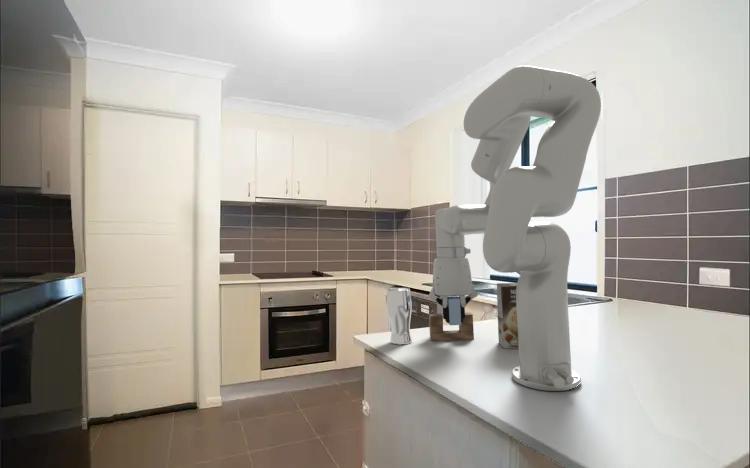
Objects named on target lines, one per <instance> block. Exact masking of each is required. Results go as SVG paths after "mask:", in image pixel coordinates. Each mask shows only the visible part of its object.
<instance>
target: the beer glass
mask: <svg viewBox="0 0 750 468" xmlns="http://www.w3.org/2000/svg"><path fill="white" fill-rule="evenodd" d="M412 306H413V305H412V296H411V289H410V287H393V288H388V289H387V290H386V309H387V315H388V319H389V323H390V330H391V331H390V332H391V333H390V344H392V343H393V344H392V345H395V344H398V345H397V346H403V345H402V344H406V345H410V344H411V343H412V341H413V340H412V335H411V318H412ZM409 343H410V344H409Z"/></svg>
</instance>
